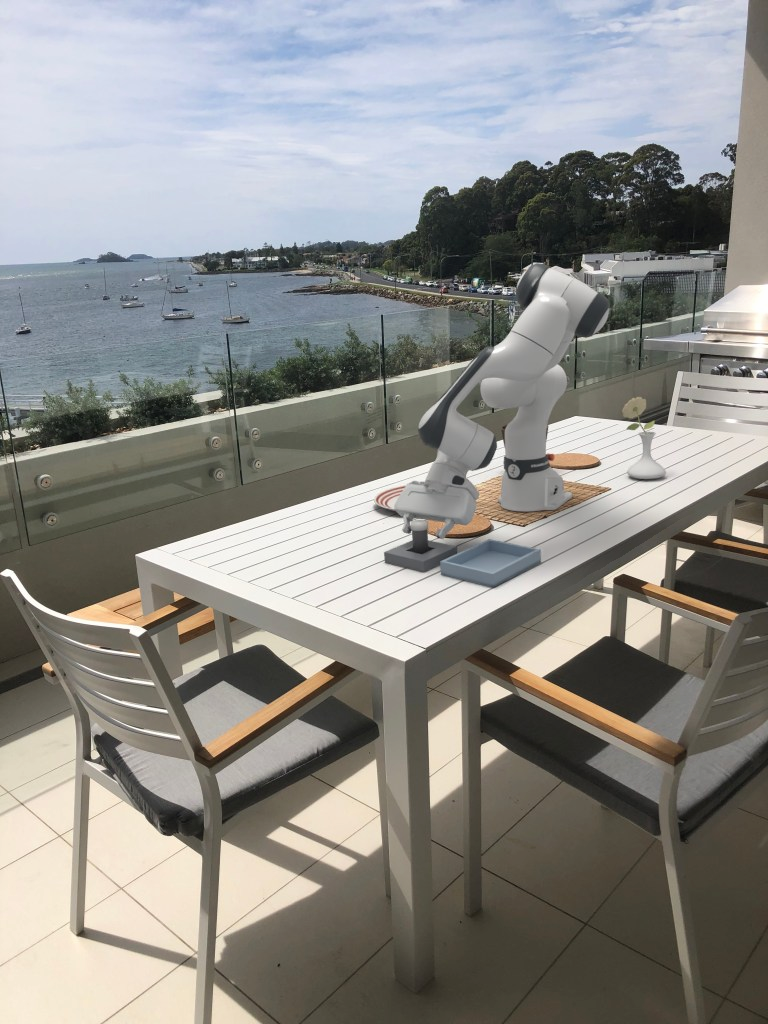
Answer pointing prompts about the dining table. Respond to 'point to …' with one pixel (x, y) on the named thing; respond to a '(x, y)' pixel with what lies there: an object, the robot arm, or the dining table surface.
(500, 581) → the parts tray
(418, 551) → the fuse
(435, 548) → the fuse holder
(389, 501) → the dinner plate
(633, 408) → the flower in vase
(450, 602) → the dining table surface
